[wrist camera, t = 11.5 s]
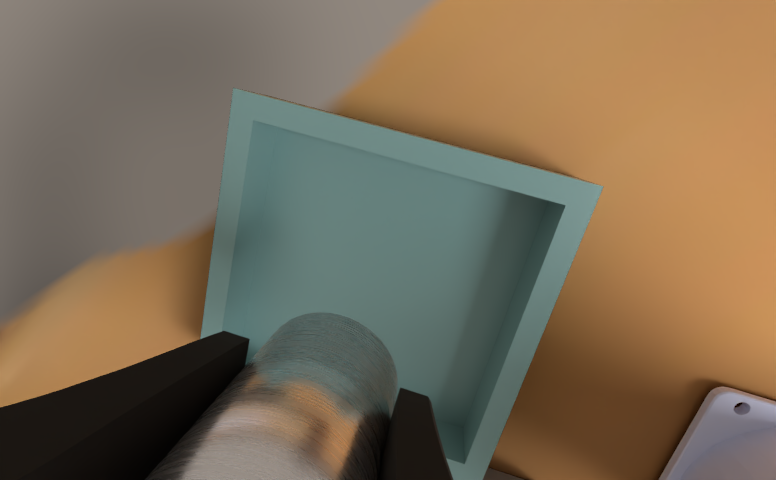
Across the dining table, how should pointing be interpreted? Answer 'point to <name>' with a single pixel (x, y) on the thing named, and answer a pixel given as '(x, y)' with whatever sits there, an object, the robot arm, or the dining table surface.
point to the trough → (395, 254)
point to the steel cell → (296, 410)
